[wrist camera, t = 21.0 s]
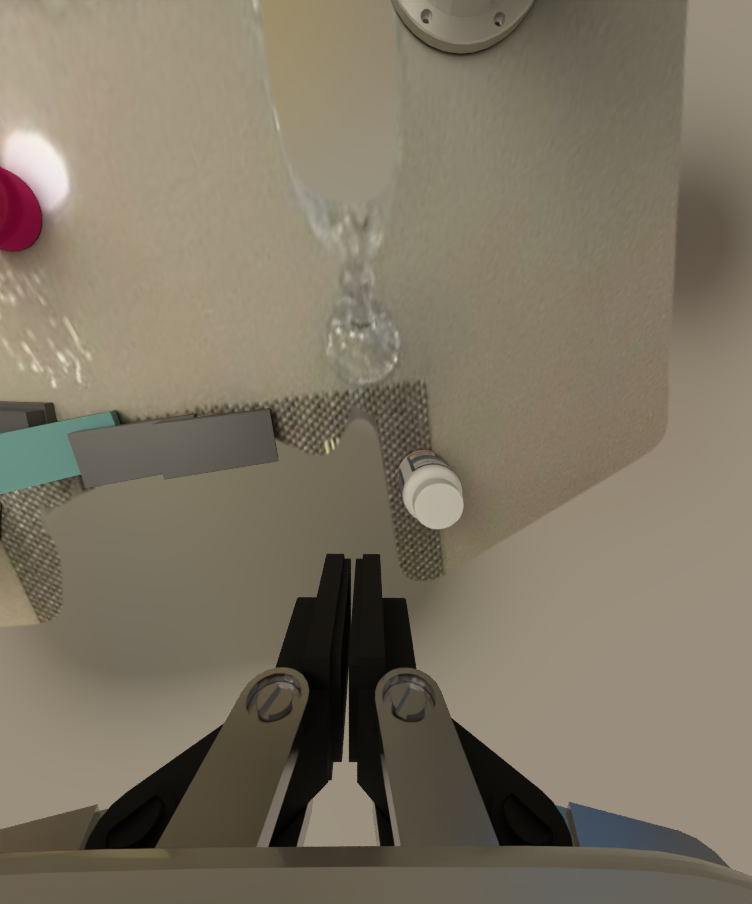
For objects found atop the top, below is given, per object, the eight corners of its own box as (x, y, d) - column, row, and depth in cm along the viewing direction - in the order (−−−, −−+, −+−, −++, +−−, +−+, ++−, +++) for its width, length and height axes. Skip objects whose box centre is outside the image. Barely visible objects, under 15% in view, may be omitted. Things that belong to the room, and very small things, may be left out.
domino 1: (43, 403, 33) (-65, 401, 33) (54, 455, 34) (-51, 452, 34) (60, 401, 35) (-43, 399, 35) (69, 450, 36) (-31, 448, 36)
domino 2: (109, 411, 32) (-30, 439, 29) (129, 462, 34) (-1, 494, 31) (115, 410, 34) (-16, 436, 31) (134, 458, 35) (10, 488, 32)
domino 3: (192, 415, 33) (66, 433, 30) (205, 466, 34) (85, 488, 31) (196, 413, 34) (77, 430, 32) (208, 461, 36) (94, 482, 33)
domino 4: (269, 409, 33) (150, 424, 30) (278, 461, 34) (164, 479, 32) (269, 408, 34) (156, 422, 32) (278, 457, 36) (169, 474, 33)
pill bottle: (427, 506, 37) (444, 549, 29) (387, 480, 36) (392, 516, 28) (458, 466, 36) (485, 499, 28) (417, 439, 35) (432, 463, 27)
